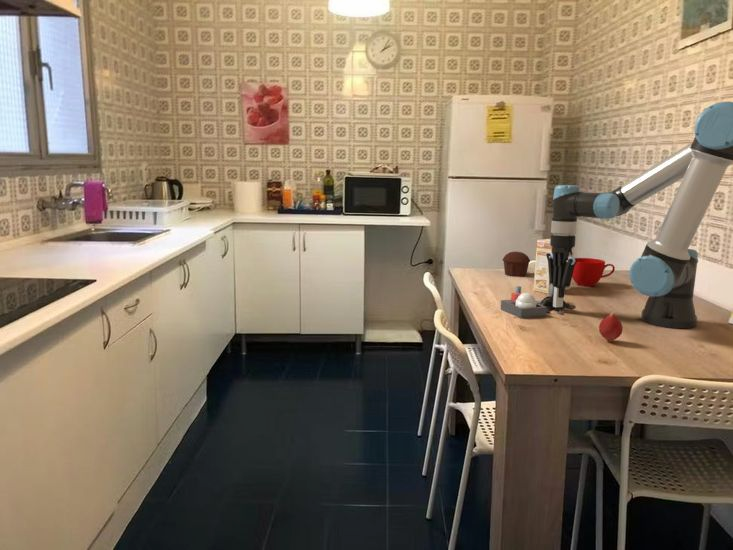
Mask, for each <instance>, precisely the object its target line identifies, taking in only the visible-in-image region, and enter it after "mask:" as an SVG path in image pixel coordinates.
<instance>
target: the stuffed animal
mask: <svg viewBox="0 0 733 550" xmlns="http://www.w3.org/2000/svg"><path fill="white" fill-rule="evenodd" d="M553 297H554V296H553V294H552V296H550V295H549V296H546V297H544V298H543V299H542V300H540V301H541V303H539V304H540V305H542V306H545V307H546V314H550V313H551V311H555V312H557V314H559V315H561V316H562V315H564V312H563V311H566V310H572V311H573V310H575V309H576V308H577V307H576V304H574V303H573V304H572V303H571V304H570V303H567V302H566V301H565V300H564V299H563V307H553Z"/></svg>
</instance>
